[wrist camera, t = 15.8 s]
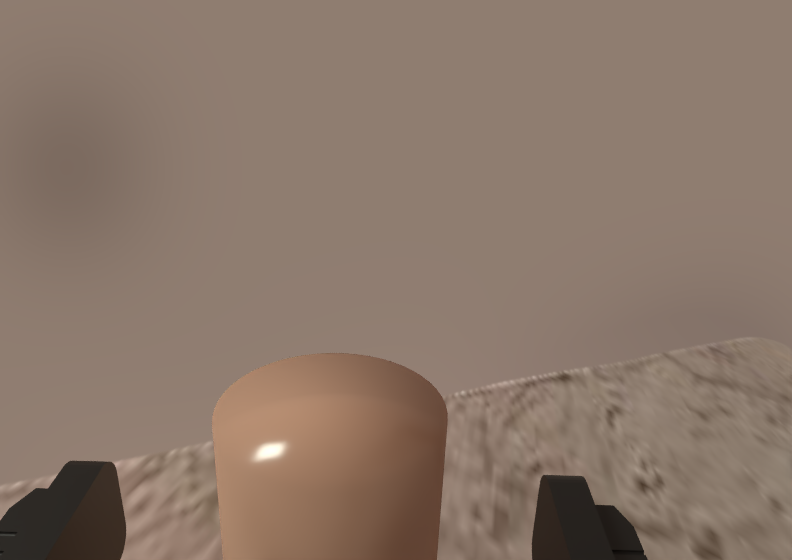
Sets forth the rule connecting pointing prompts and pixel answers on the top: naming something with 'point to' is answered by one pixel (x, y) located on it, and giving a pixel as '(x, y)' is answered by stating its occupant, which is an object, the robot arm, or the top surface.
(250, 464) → the terracotta canister
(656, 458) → the top surface
